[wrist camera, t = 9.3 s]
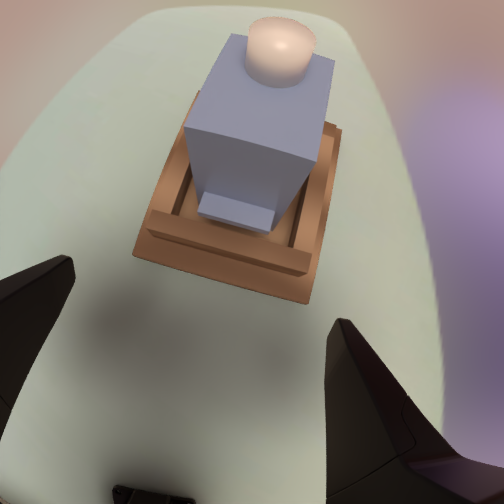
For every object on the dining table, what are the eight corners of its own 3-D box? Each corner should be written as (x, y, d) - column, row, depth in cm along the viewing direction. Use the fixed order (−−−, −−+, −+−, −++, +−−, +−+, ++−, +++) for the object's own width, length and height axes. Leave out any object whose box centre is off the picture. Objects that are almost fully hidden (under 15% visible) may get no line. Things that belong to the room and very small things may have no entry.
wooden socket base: (305, 304, 20) (318, 303, 17) (135, 256, 20) (121, 247, 17) (338, 134, 23) (351, 114, 20) (199, 96, 23) (197, 72, 20)
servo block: (268, 248, 20) (329, 165, 8) (194, 228, 20) (162, 121, 8) (294, 143, 22) (349, 19, 10) (230, 125, 22) (241, -9, 10)
